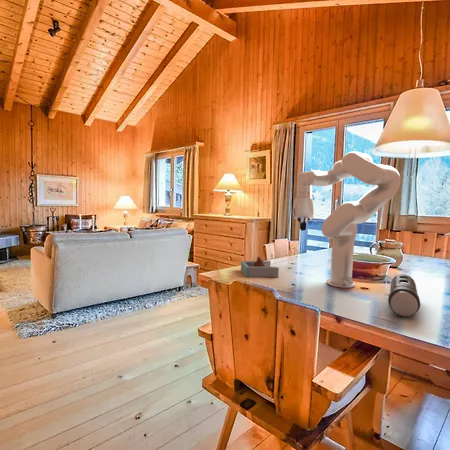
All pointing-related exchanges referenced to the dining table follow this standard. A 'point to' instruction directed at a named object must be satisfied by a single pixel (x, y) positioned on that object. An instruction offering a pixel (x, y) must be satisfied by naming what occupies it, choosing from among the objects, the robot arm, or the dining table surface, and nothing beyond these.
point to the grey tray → (259, 269)
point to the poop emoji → (259, 263)
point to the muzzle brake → (403, 296)
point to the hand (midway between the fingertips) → (302, 230)
